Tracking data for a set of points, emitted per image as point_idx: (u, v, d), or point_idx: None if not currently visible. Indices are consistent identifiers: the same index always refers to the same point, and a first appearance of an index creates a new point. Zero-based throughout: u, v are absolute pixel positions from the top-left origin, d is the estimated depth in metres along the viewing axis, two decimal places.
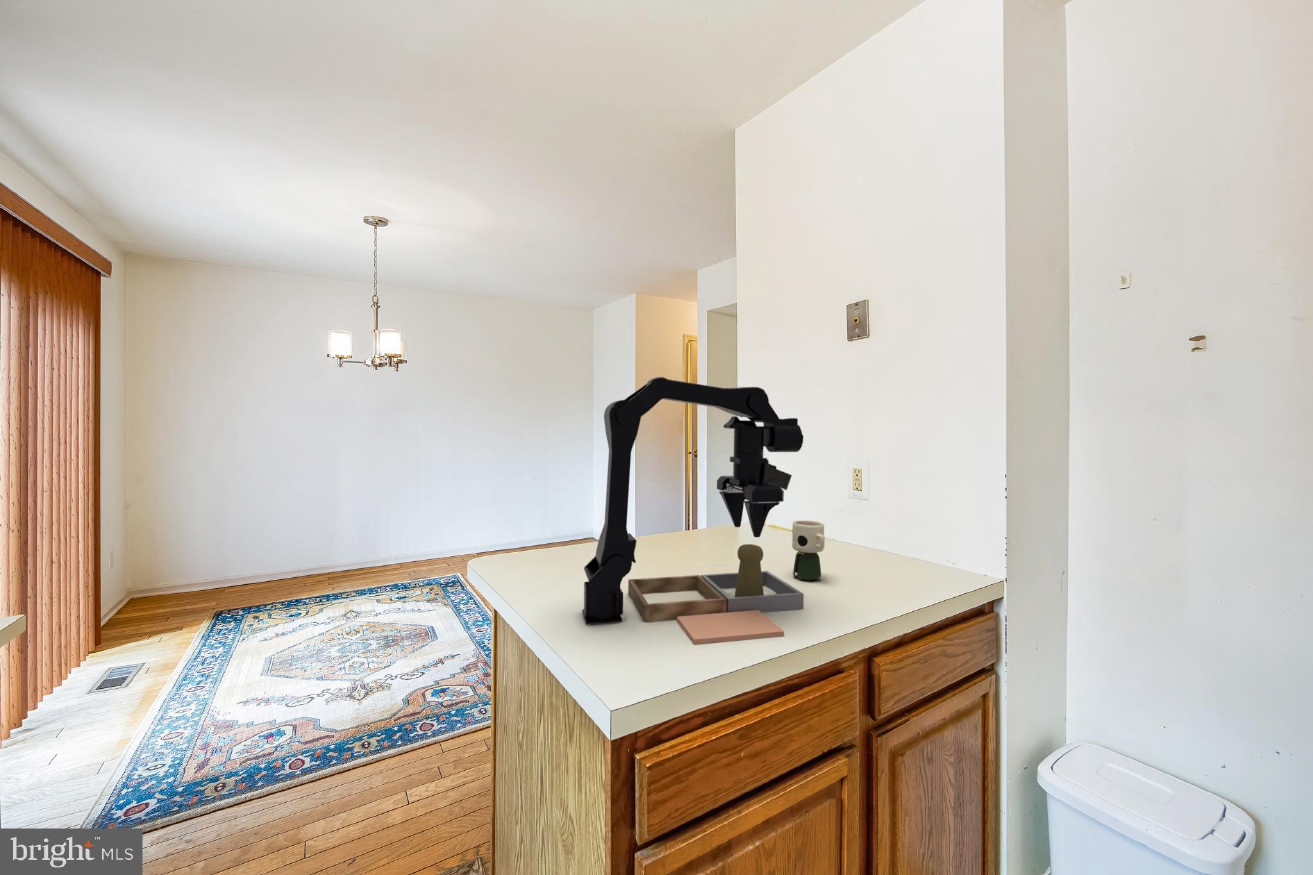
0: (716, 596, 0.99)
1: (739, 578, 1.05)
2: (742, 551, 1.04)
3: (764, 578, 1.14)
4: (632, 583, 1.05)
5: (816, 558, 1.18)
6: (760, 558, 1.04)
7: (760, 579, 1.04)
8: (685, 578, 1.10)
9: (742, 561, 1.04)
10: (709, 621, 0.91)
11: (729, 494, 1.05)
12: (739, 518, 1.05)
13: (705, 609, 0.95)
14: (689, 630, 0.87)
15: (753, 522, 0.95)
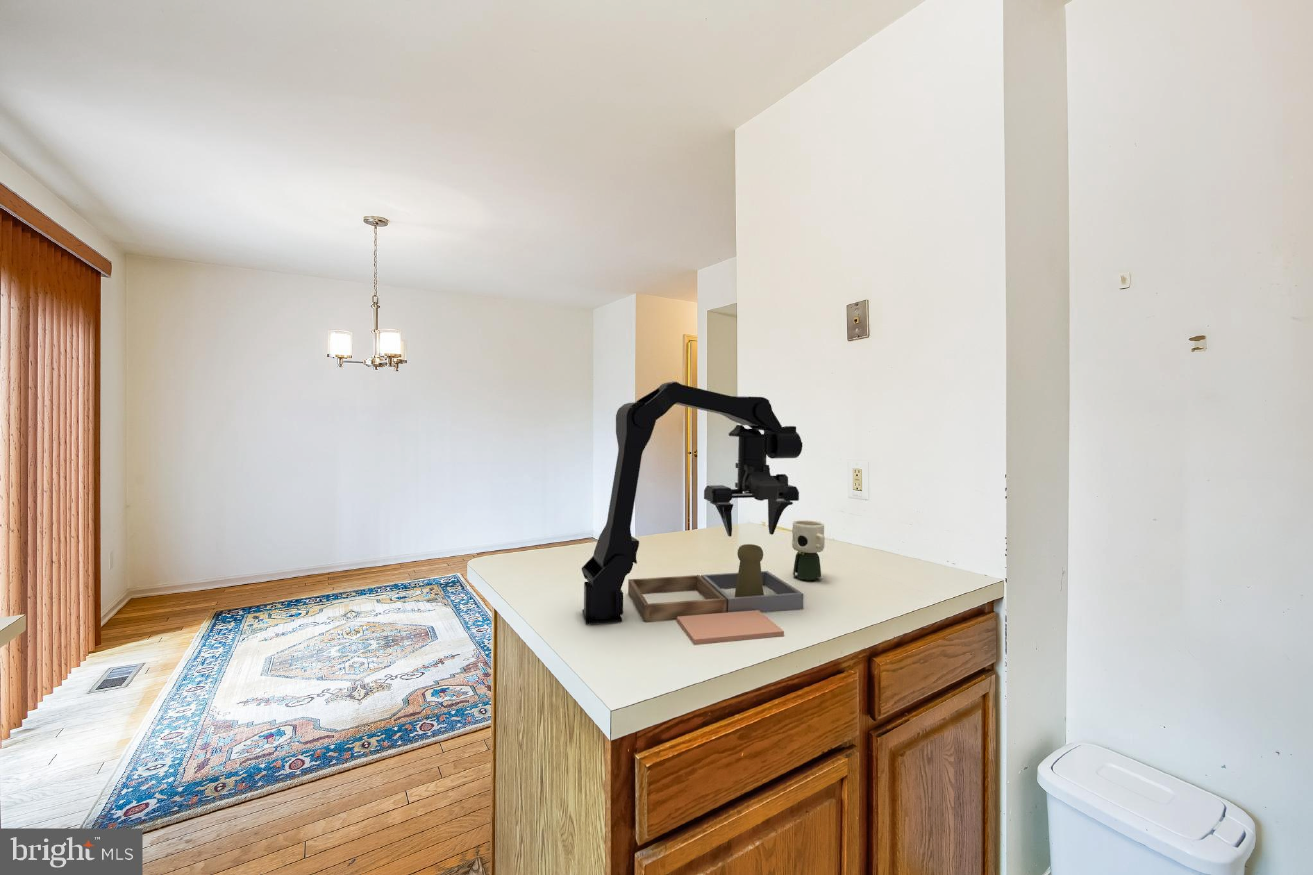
0: (716, 596, 0.99)
1: (739, 578, 1.05)
2: (742, 551, 1.04)
3: (764, 578, 1.14)
4: (632, 583, 1.05)
5: (816, 558, 1.18)
6: (760, 558, 1.04)
7: (760, 579, 1.04)
8: (685, 578, 1.10)
9: (742, 561, 1.04)
10: (709, 621, 0.91)
11: (770, 500, 1.08)
12: (772, 526, 1.06)
13: (705, 609, 0.95)
14: (689, 630, 0.87)
15: (722, 520, 1.05)
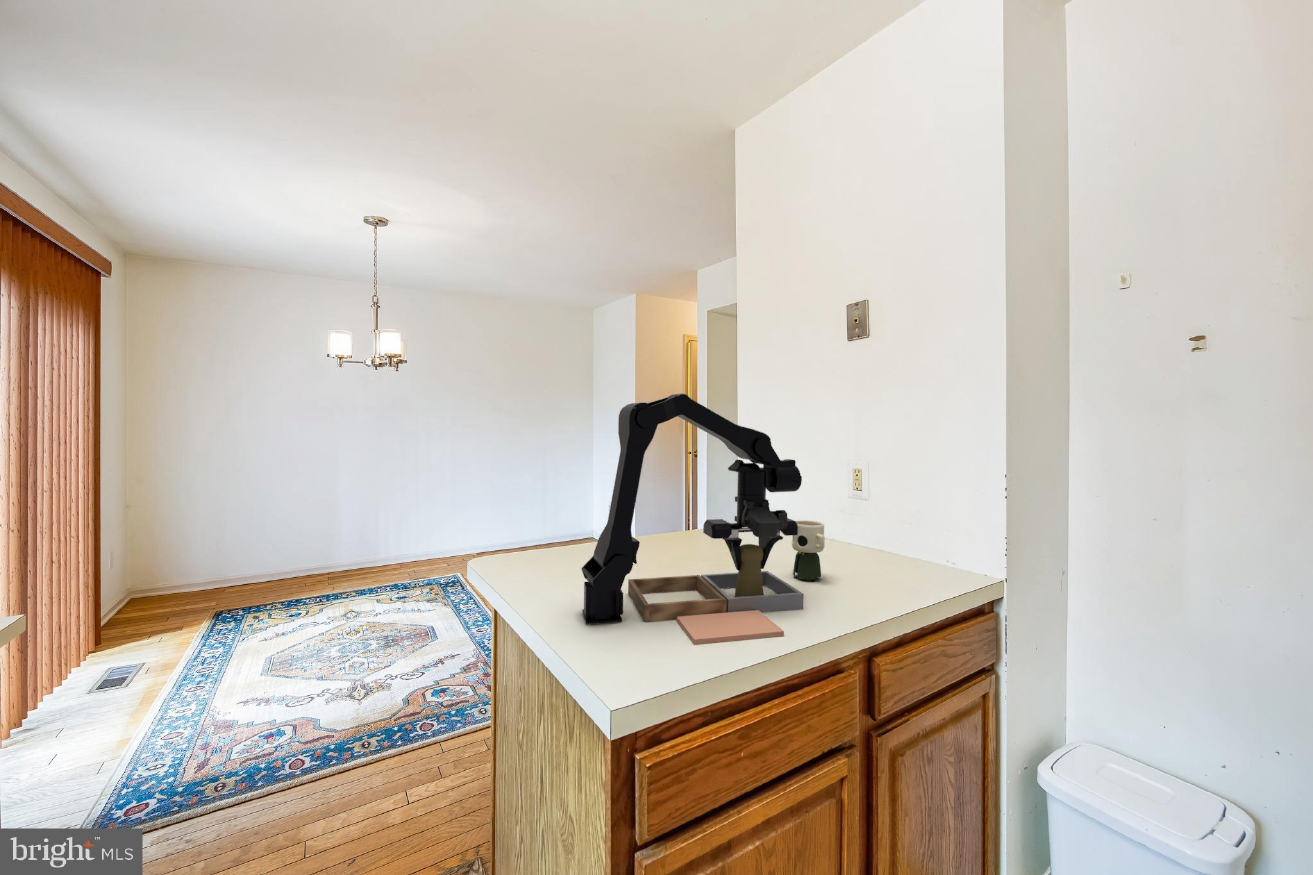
0: (716, 596, 0.99)
1: (739, 578, 1.05)
2: (742, 551, 1.04)
3: (764, 578, 1.14)
4: (632, 583, 1.05)
5: (816, 558, 1.18)
6: (760, 558, 1.04)
7: (760, 579, 1.04)
8: (685, 578, 1.10)
9: (742, 561, 1.04)
10: (709, 621, 0.91)
11: None
12: (762, 560, 1.06)
13: (705, 609, 0.95)
14: (689, 630, 0.87)
15: (731, 553, 1.06)
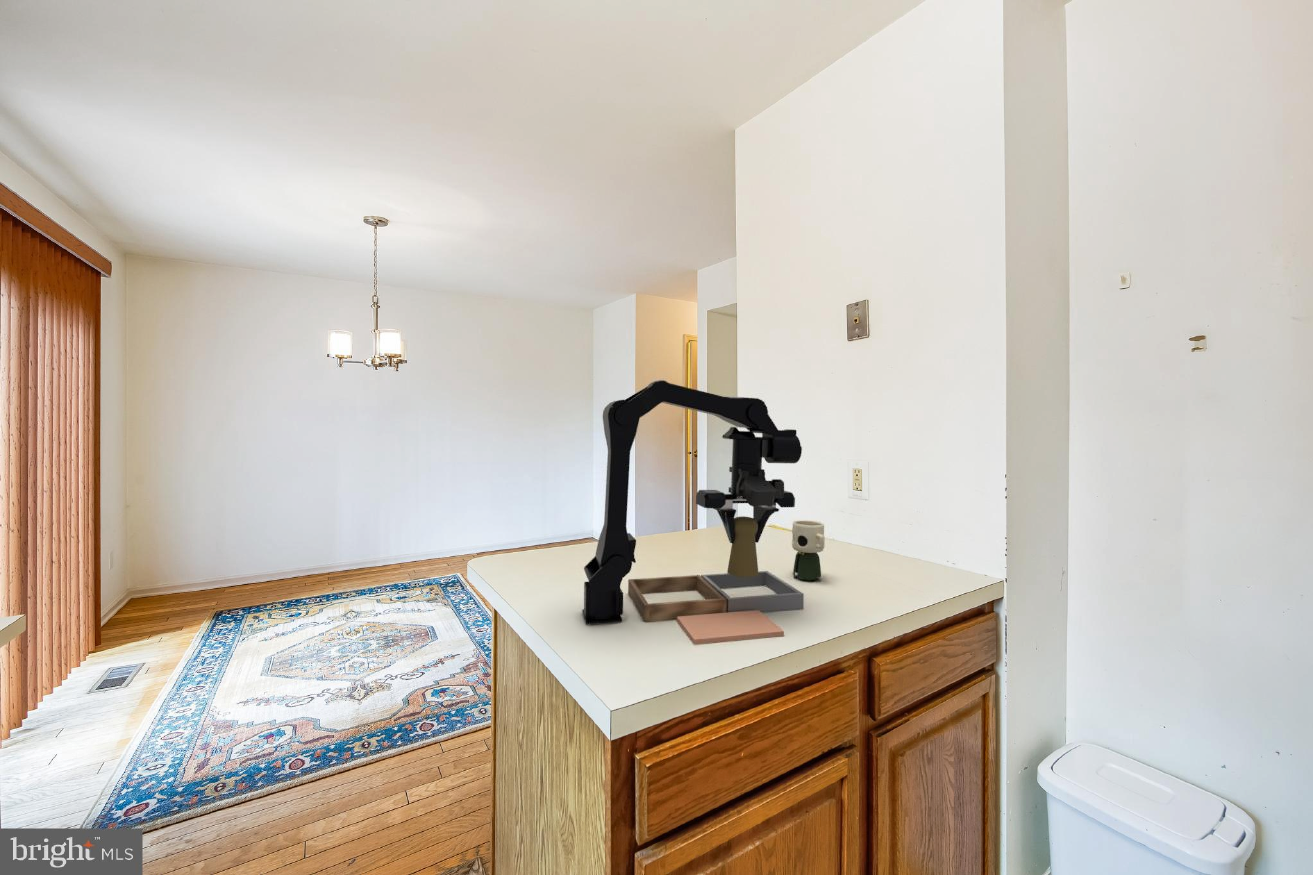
0: (716, 596, 0.99)
1: (732, 551, 1.00)
2: (736, 523, 0.99)
3: (764, 578, 1.14)
4: (632, 583, 1.05)
5: (816, 558, 1.18)
6: (755, 530, 0.99)
7: (754, 552, 0.99)
8: (685, 578, 1.10)
9: (736, 533, 1.00)
10: (709, 621, 0.91)
11: (755, 507, 1.03)
12: (757, 533, 1.01)
13: (705, 609, 0.95)
14: (689, 630, 0.87)
15: (724, 526, 1.01)
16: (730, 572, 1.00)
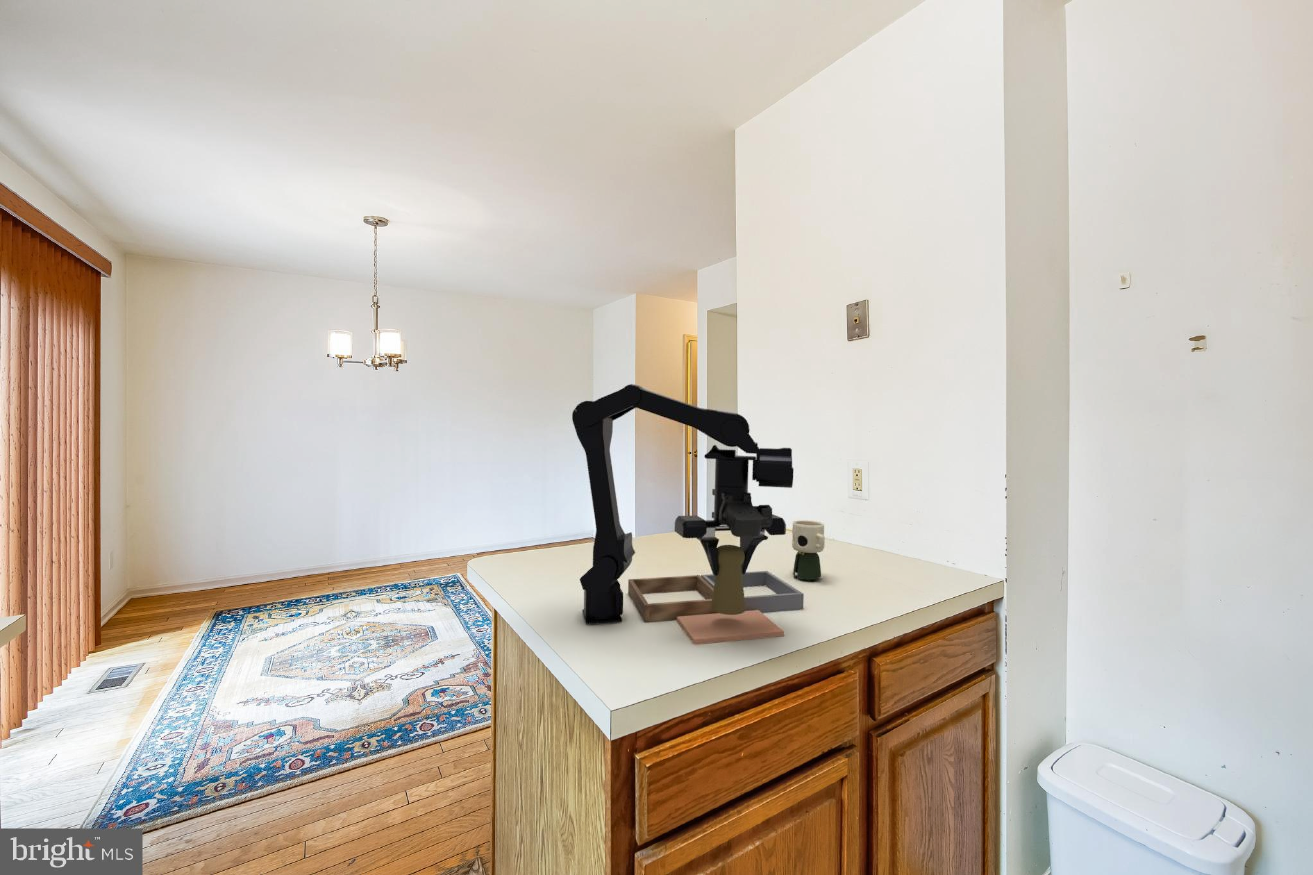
0: None
1: (716, 585, 0.89)
2: (719, 553, 0.88)
3: (764, 578, 1.14)
4: (632, 583, 1.05)
5: (816, 558, 1.18)
6: (741, 561, 0.88)
7: (741, 586, 0.89)
8: (685, 578, 1.10)
9: (720, 565, 0.89)
10: (709, 621, 0.91)
11: None
12: (743, 564, 0.90)
13: (705, 609, 0.95)
14: (689, 630, 0.87)
15: (707, 556, 0.90)
16: (713, 608, 0.89)
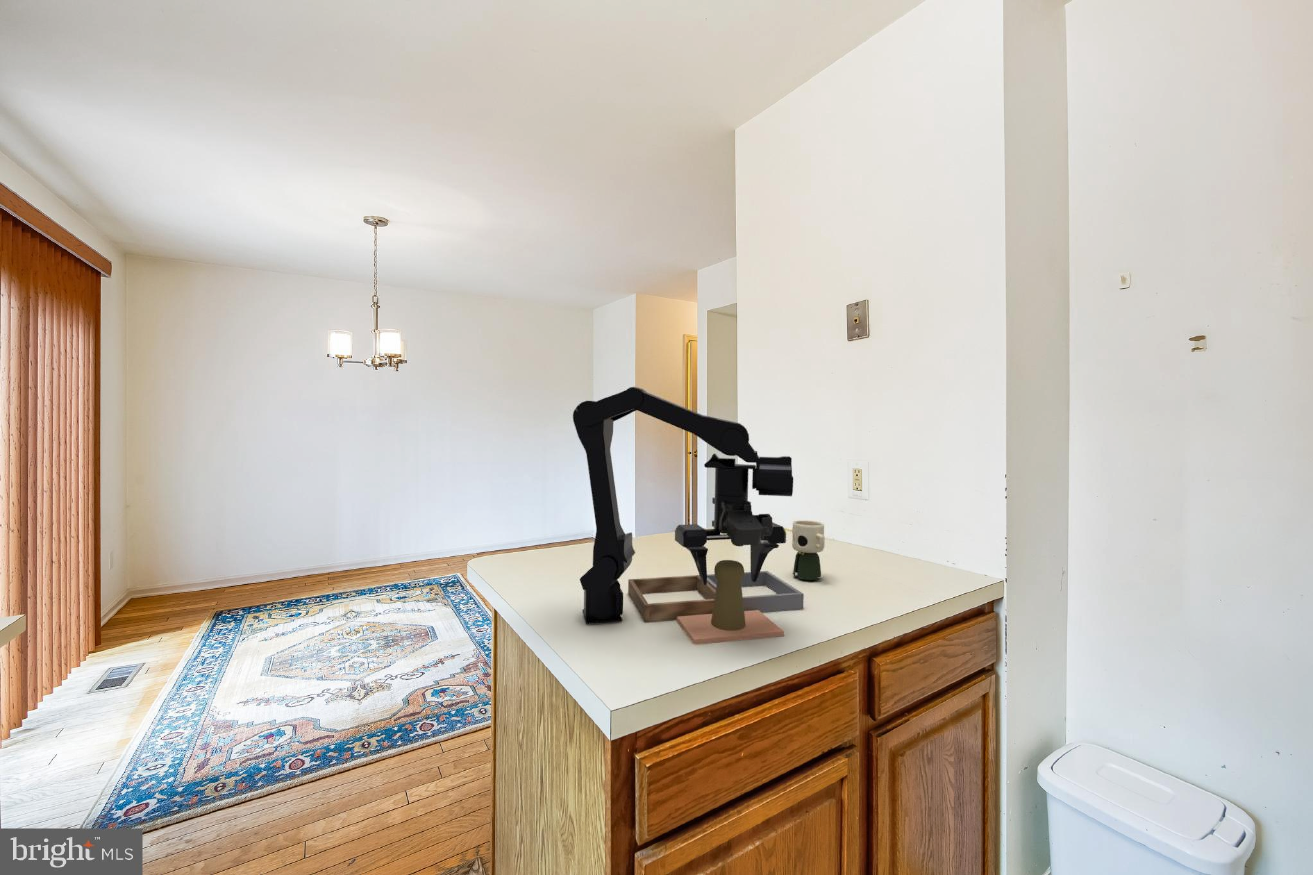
0: None
1: (716, 600, 0.89)
2: (719, 569, 0.88)
3: (764, 578, 1.14)
4: (632, 583, 1.05)
5: (816, 558, 1.18)
6: (740, 577, 0.88)
7: (740, 601, 0.89)
8: (685, 578, 1.10)
9: (719, 580, 0.89)
10: (709, 621, 0.91)
11: None
12: (754, 572, 0.91)
13: (705, 609, 0.95)
14: (689, 630, 0.87)
15: (696, 565, 0.90)
16: (713, 623, 0.89)
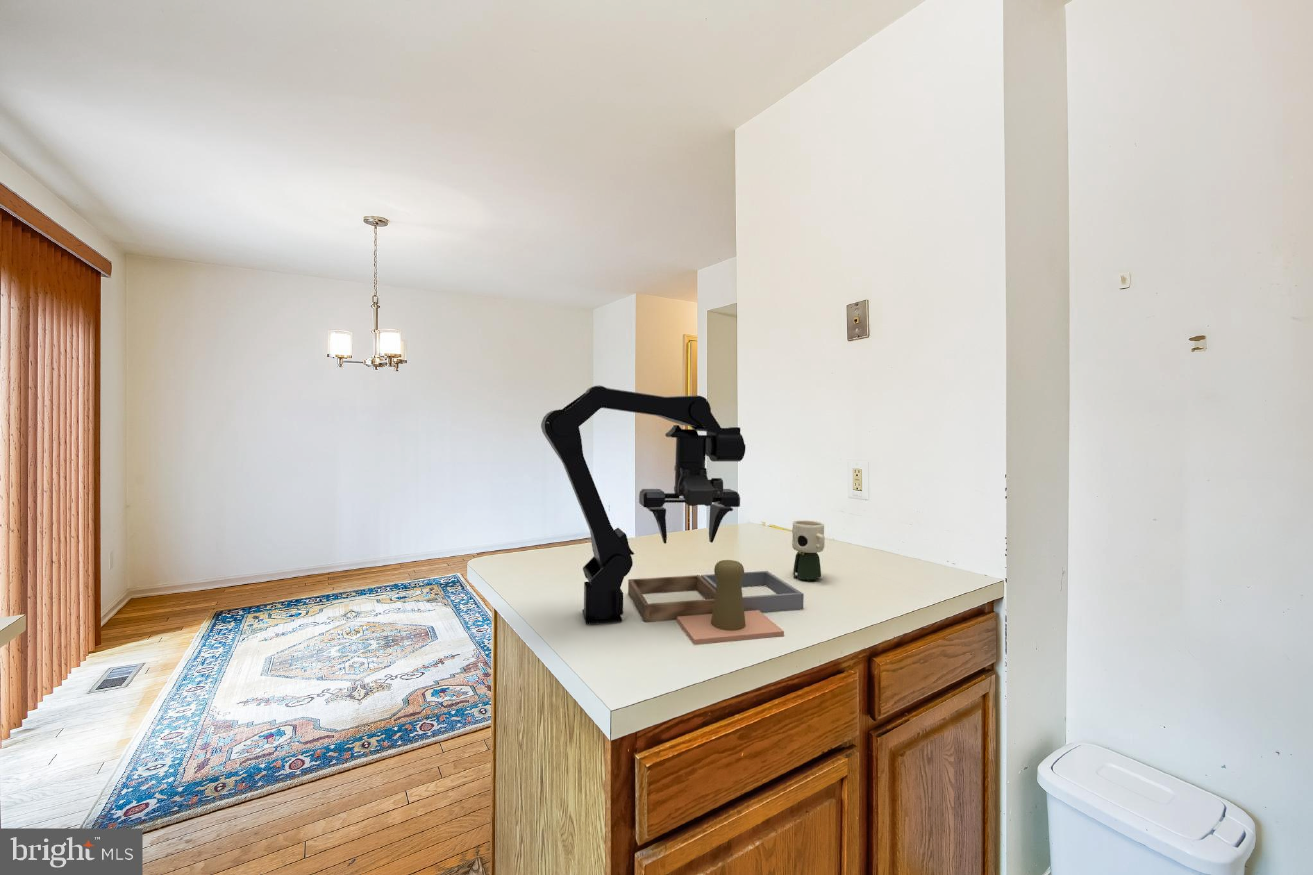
0: None
1: (716, 600, 0.89)
2: (719, 569, 0.88)
3: (764, 578, 1.14)
4: (632, 583, 1.05)
5: (816, 558, 1.18)
6: (740, 577, 0.88)
7: (740, 601, 0.89)
8: (685, 578, 1.10)
9: (719, 580, 0.89)
10: (709, 621, 0.91)
11: (711, 506, 1.02)
12: (711, 533, 1.00)
13: (705, 609, 0.95)
14: (689, 630, 0.87)
15: (658, 526, 0.99)
16: (713, 623, 0.89)
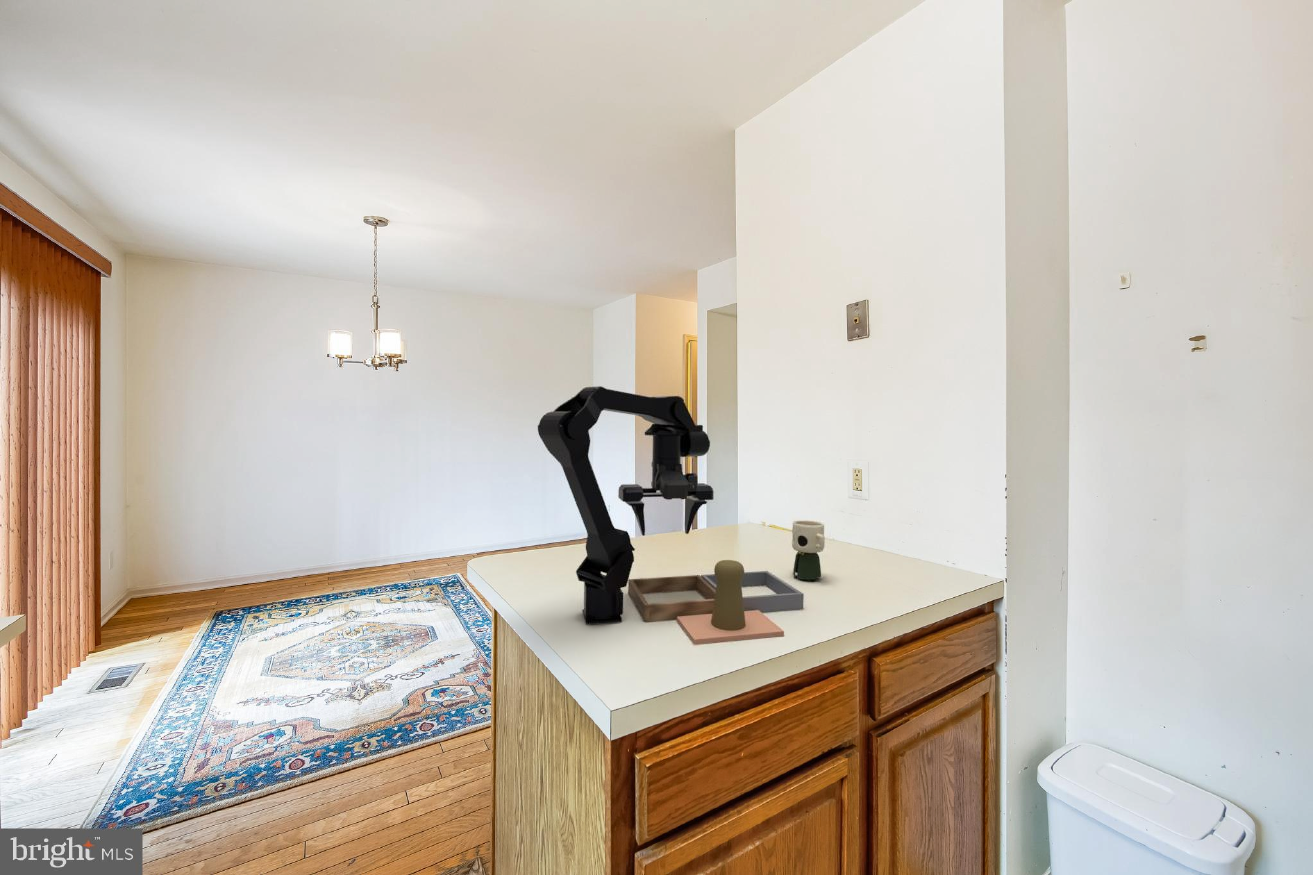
0: None
1: (716, 600, 0.89)
2: (719, 569, 0.88)
3: (764, 578, 1.14)
4: (632, 583, 1.05)
5: (816, 558, 1.18)
6: (740, 577, 0.88)
7: (740, 602, 0.89)
8: (685, 578, 1.10)
9: (719, 580, 0.89)
10: (709, 621, 0.91)
11: (687, 500, 1.08)
12: (687, 525, 1.06)
13: (705, 609, 0.95)
14: (689, 630, 0.87)
15: None
16: (713, 623, 0.89)
